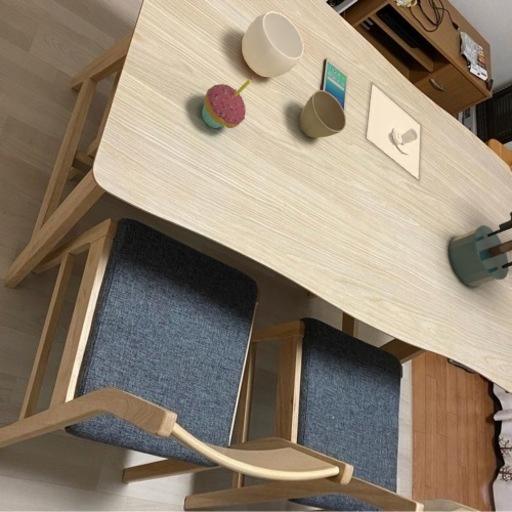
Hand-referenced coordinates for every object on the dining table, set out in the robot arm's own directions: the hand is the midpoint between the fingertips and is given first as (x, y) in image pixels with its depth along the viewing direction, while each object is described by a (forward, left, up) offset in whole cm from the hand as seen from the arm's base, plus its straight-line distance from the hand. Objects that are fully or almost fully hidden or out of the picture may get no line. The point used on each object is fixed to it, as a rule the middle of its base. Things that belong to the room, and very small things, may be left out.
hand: (496, 250), depth 145 cm
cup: (+71, -27, -10) cm, 77 cm away
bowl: (0, 0, -9) cm, 9 cm away
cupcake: (+81, -7, -10) cm, 82 cm away
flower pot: (+56, -17, -10) cm, 59 cm away
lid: (0, 0, -2) cm, 2 cm away
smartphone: (+47, -33, -9) cm, 58 cm away
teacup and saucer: (+24, -31, -10) cm, 40 cm away
